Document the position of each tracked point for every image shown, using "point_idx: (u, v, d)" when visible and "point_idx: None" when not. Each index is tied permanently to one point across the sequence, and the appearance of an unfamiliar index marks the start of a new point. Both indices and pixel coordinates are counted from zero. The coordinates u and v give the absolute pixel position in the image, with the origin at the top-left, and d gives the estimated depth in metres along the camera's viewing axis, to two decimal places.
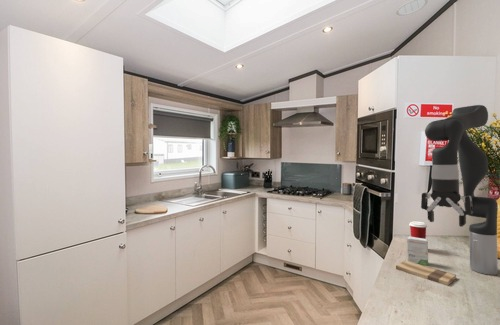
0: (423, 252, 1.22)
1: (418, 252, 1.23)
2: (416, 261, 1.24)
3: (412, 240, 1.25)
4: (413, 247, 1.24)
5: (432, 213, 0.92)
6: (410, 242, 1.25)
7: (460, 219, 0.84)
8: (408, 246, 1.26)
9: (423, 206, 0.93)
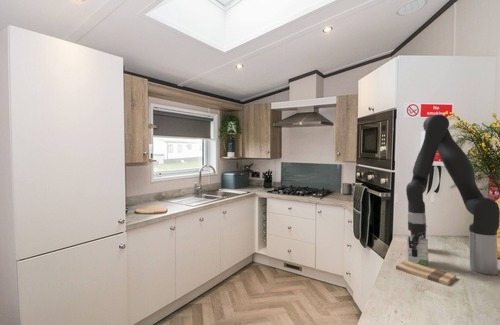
0: (423, 252, 1.22)
1: (418, 252, 1.23)
2: (416, 261, 1.24)
3: None
4: None
5: None
6: None
7: None
8: (408, 246, 1.26)
9: (415, 247, 1.21)
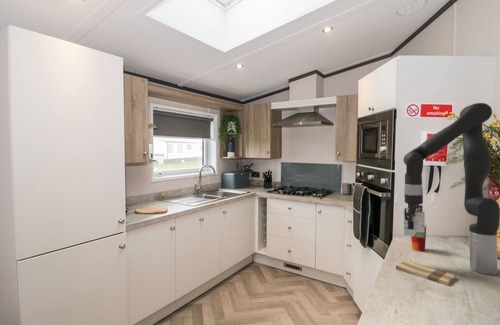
0: (419, 225, 1.20)
1: (415, 224, 1.21)
2: (412, 234, 1.22)
3: None
4: None
5: None
6: None
7: None
8: (404, 219, 1.24)
9: (411, 218, 1.19)
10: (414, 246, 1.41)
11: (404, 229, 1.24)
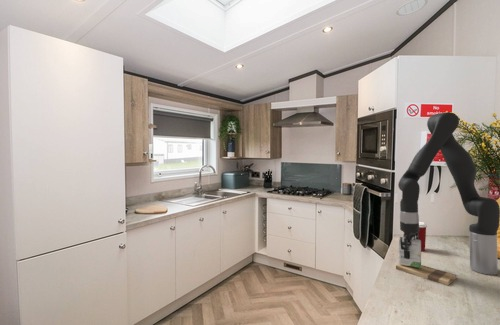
0: (415, 254, 1.15)
1: (411, 253, 1.16)
2: (408, 263, 1.17)
3: None
4: None
5: None
6: None
7: None
8: (400, 247, 1.19)
9: (407, 248, 1.14)
10: None
11: (400, 258, 1.19)
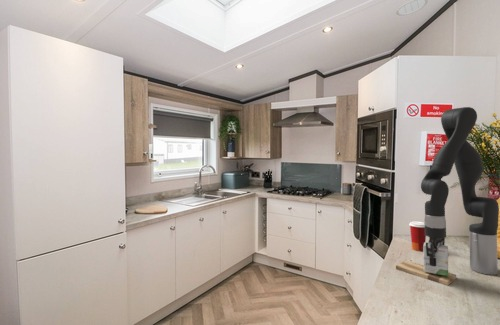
0: (442, 261, 1.07)
1: (437, 260, 1.08)
2: (434, 271, 1.08)
3: None
4: None
5: None
6: None
7: None
8: (425, 253, 1.10)
9: (433, 255, 1.06)
10: (414, 246, 1.41)
11: (425, 265, 1.10)
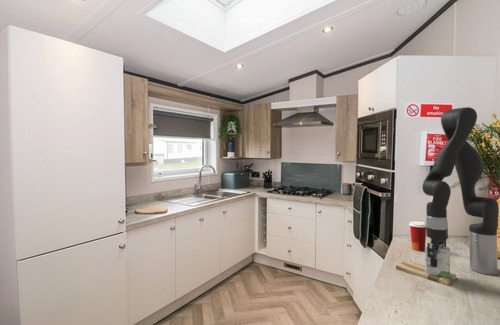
0: (444, 263, 1.06)
1: (439, 262, 1.07)
2: (436, 273, 1.08)
3: None
4: None
5: None
6: None
7: None
8: (427, 255, 1.10)
9: (435, 256, 1.05)
10: (414, 246, 1.41)
11: (426, 267, 1.10)
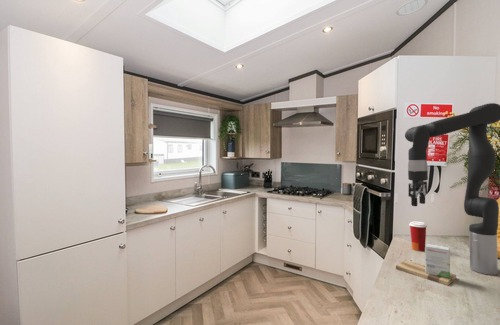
0: (444, 263, 1.06)
1: (439, 262, 1.07)
2: (436, 273, 1.08)
3: (431, 248, 1.09)
4: (432, 256, 1.09)
5: None
6: (428, 250, 1.10)
7: (424, 198, 1.19)
8: (427, 255, 1.10)
9: (415, 194, 1.13)
10: (414, 246, 1.41)
11: (426, 267, 1.10)
